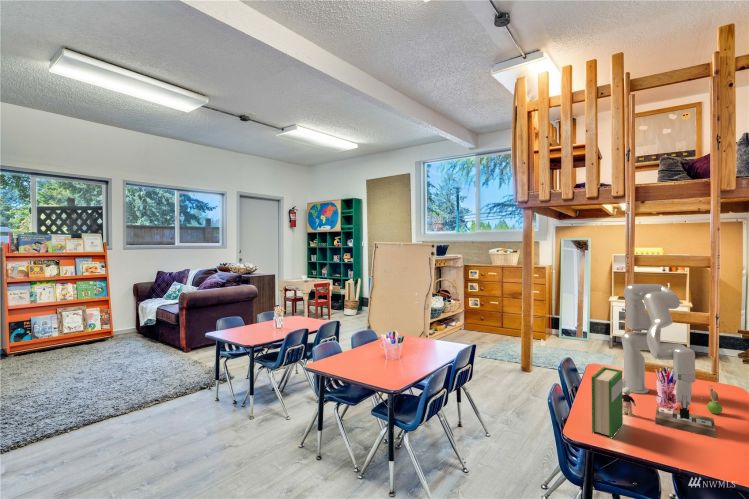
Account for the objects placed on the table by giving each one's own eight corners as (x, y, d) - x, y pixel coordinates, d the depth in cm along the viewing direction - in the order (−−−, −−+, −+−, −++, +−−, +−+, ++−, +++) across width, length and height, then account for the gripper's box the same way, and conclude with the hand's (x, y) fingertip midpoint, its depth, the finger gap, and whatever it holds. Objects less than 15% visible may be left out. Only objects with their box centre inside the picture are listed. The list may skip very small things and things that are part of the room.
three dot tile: (677, 424, 166) (677, 417, 166) (677, 419, 170) (677, 413, 170) (691, 427, 163) (691, 421, 163) (691, 423, 167) (691, 416, 167)
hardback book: (612, 438, 156) (611, 381, 156) (592, 432, 161) (591, 376, 161) (622, 424, 168) (622, 370, 168) (603, 418, 173) (603, 367, 173)
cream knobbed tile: (696, 428, 162) (696, 422, 162) (696, 424, 166) (695, 417, 166) (711, 431, 159) (711, 425, 159) (711, 427, 163) (711, 421, 163)
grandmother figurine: (637, 415, 177) (637, 388, 176) (635, 418, 174) (635, 390, 174) (618, 410, 182) (617, 384, 182) (616, 413, 179) (616, 386, 179)
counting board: (655, 424, 168) (655, 417, 168) (656, 412, 179) (656, 406, 179) (715, 437, 155) (715, 430, 155) (713, 425, 166) (713, 418, 166)
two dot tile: (658, 416, 171) (658, 410, 170) (659, 412, 174) (659, 406, 174) (672, 419, 167) (672, 413, 167) (672, 415, 171) (672, 409, 171)
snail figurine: (717, 410, 180) (717, 385, 180) (725, 416, 174) (724, 390, 174) (703, 409, 182) (703, 384, 181) (710, 414, 176) (710, 389, 175)
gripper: (673, 370, 175) (674, 409, 175) (673, 379, 163) (673, 421, 163) (694, 373, 170) (695, 414, 170) (695, 383, 158) (696, 426, 158)
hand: (684, 417), depth 167 cm, fingers closed
